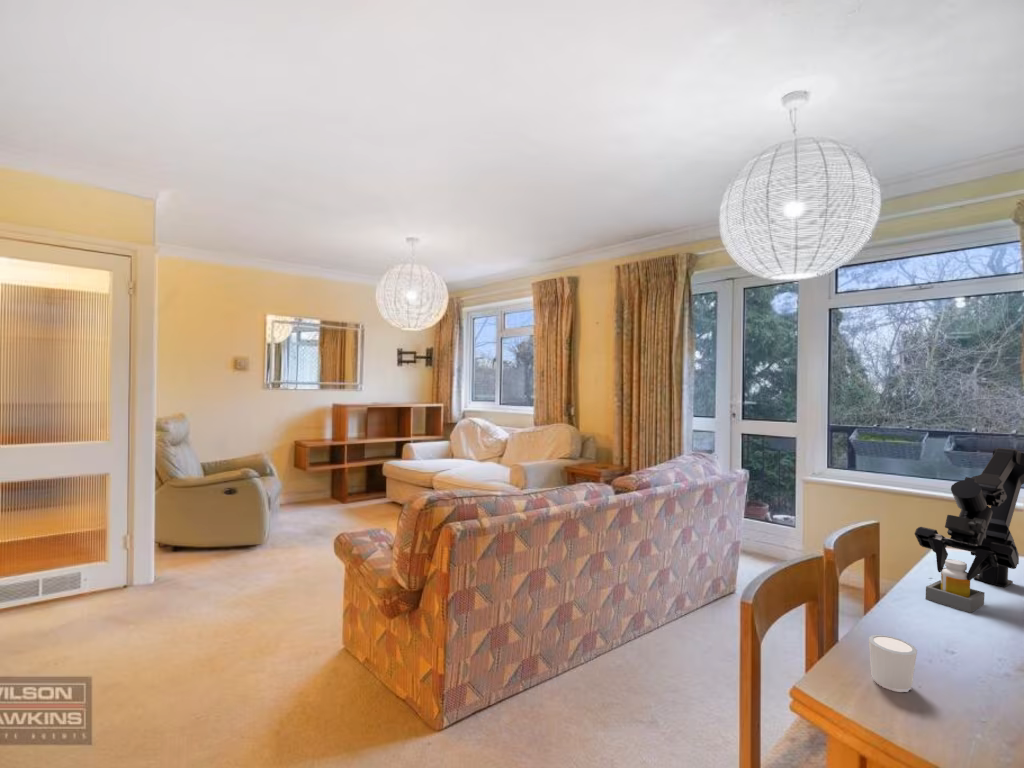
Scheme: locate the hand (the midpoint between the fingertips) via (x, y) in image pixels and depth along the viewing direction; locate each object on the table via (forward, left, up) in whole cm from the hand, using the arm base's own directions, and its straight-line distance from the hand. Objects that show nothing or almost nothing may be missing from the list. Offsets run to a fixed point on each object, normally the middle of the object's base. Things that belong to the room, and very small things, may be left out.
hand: (953, 575), depth 125 cm
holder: (-1, 0, -7) cm, 7 cm away
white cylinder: (+52, +8, -7) cm, 53 cm away
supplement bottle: (-1, 0, -7) cm, 7 cm away
